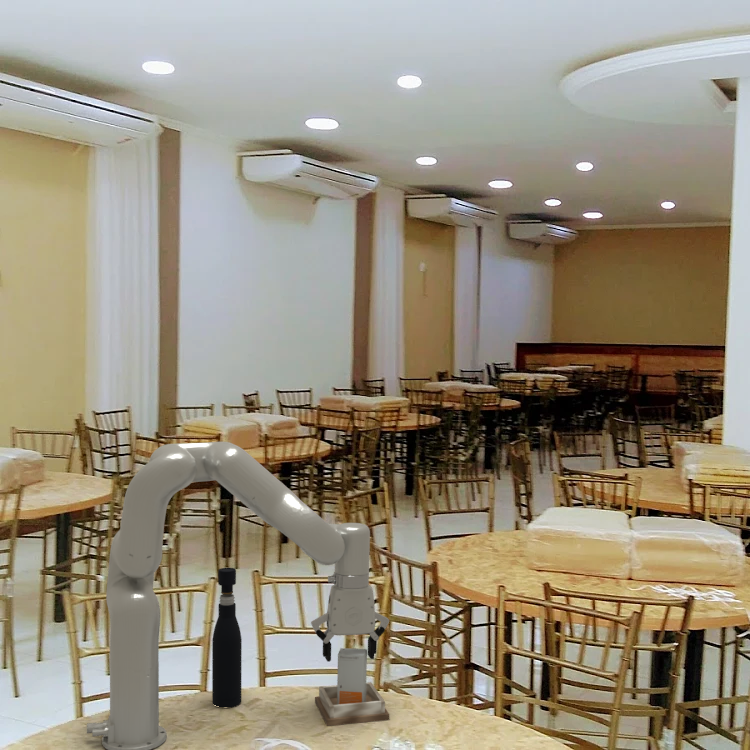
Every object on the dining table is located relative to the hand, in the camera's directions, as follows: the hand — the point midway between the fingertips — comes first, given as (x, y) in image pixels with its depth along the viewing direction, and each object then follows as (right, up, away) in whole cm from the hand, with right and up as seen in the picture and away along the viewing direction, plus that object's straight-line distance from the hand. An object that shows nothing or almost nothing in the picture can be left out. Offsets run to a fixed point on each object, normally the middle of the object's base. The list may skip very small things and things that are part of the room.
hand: (349, 658), depth 204 cm
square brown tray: (0, -12, 0) cm, 12 cm away
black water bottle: (-28, -12, +5) cm, 30 cm away
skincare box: (+1, -11, 0) cm, 11 cm away
